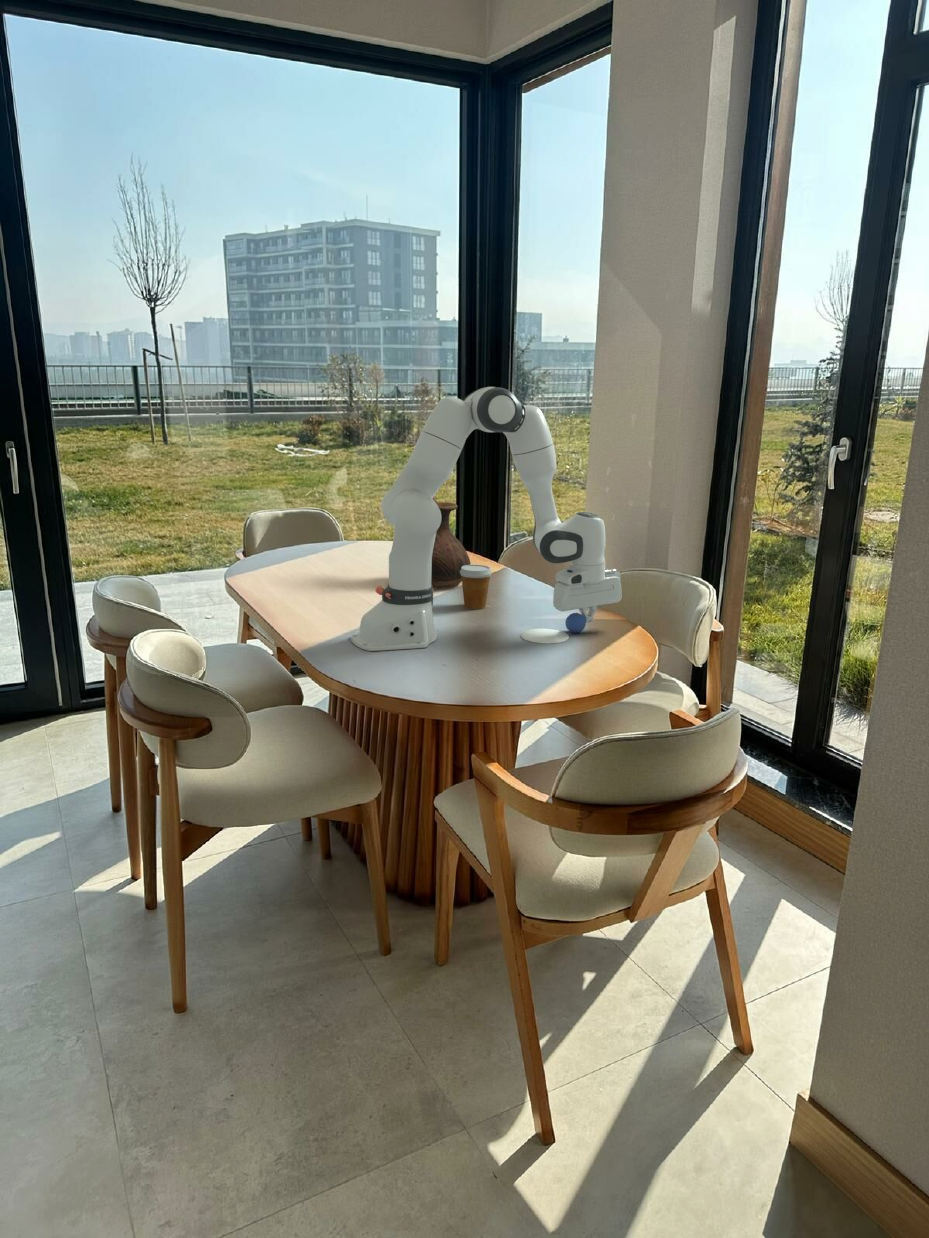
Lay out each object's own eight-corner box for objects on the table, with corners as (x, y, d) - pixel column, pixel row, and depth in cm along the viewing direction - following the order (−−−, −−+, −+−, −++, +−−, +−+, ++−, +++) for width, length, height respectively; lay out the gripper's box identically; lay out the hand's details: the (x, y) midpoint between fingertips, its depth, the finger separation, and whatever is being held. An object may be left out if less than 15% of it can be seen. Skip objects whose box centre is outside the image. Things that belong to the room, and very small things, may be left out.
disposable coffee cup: (463, 611, 255) (464, 571, 252) (455, 603, 264) (456, 564, 260) (494, 610, 257) (496, 570, 254) (485, 601, 266) (486, 563, 263)
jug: (473, 578, 296) (475, 490, 288) (467, 593, 276) (469, 499, 267) (410, 575, 298) (410, 488, 290) (399, 590, 278) (399, 497, 269)
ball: (580, 639, 235) (568, 628, 232) (570, 633, 240) (558, 622, 237) (593, 623, 235) (580, 612, 232) (582, 617, 240) (570, 606, 237)
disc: (535, 645, 224) (535, 645, 224) (511, 632, 236) (511, 631, 236) (578, 640, 230) (578, 639, 230) (552, 627, 241) (552, 626, 241)
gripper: (613, 565, 241) (612, 613, 245) (550, 575, 232) (550, 624, 236) (627, 570, 235) (625, 619, 239) (562, 579, 227) (562, 630, 231)
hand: (587, 621), depth 238 cm, fingers closed
